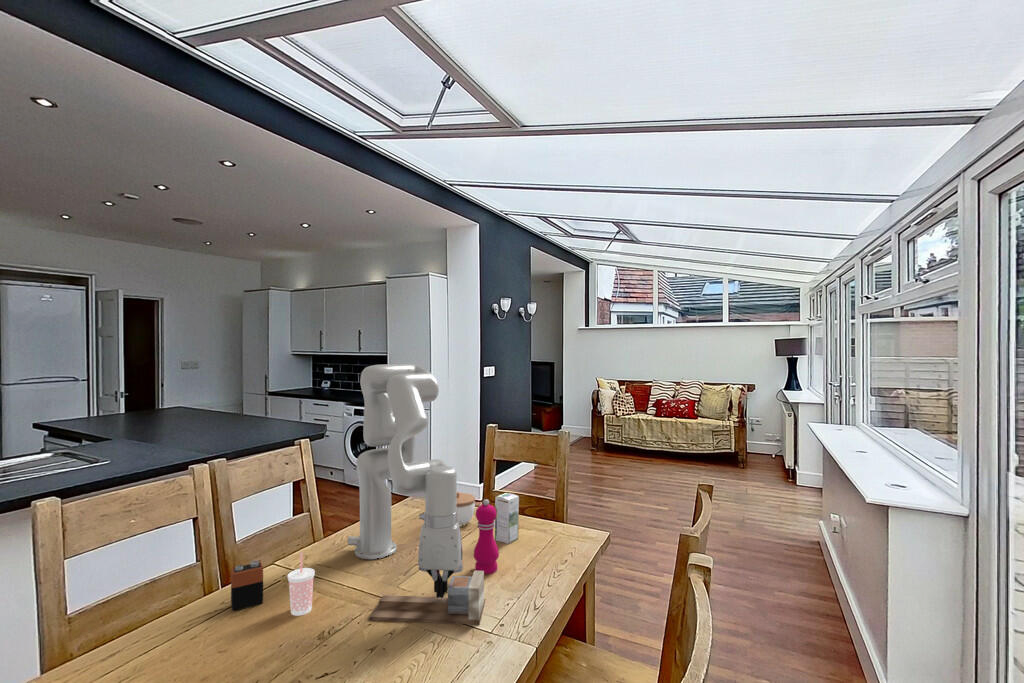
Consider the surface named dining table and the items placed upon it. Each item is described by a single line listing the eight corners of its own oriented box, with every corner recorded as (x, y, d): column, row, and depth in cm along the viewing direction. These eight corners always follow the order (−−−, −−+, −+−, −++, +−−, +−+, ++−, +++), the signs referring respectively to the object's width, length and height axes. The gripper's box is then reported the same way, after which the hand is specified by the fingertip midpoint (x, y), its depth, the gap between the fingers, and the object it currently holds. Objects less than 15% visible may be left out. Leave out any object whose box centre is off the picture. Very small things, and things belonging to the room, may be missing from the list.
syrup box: (504, 535, 168) (504, 492, 168) (519, 539, 165) (519, 495, 165) (494, 540, 163) (494, 496, 164) (509, 544, 160) (508, 499, 160)
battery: (263, 604, 124) (263, 563, 124) (232, 612, 120) (232, 570, 120) (261, 596, 127) (261, 557, 128) (230, 604, 124) (230, 563, 124)
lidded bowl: (435, 528, 174) (435, 497, 174) (446, 516, 187) (446, 486, 187) (470, 530, 172) (470, 498, 172) (478, 518, 185) (478, 488, 185)
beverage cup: (287, 607, 122) (287, 550, 122) (314, 601, 125) (314, 545, 125) (287, 619, 117) (287, 559, 117) (315, 614, 119) (315, 555, 119)
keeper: (447, 613, 117) (447, 587, 117) (452, 600, 123) (452, 575, 123) (468, 614, 117) (468, 588, 117) (472, 601, 123) (472, 576, 123)
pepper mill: (495, 576, 138) (495, 504, 138) (470, 573, 140) (470, 502, 140) (501, 565, 145) (501, 496, 145) (477, 562, 147) (477, 494, 147)
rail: (369, 620, 116) (369, 585, 116) (383, 598, 126) (383, 566, 126) (479, 624, 114) (479, 589, 114) (485, 602, 124) (485, 569, 124)
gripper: (406, 523, 117) (406, 601, 117) (468, 525, 116) (468, 604, 116) (415, 512, 125) (414, 586, 124) (474, 514, 123) (474, 588, 123)
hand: (440, 594), depth 120 cm, fingers closed
